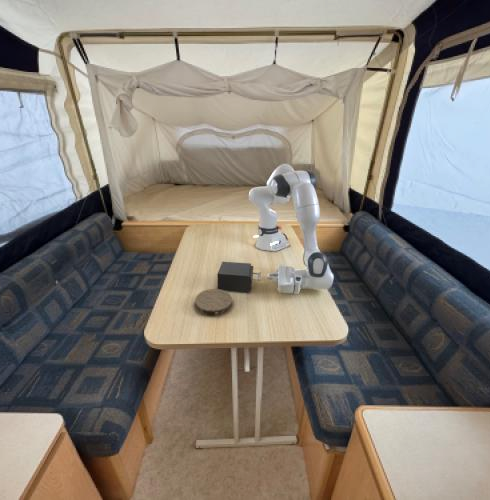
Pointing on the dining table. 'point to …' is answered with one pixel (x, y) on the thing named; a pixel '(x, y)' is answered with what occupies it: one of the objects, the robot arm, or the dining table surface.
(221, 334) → the dining table surface
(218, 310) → the round wood slice
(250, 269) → the drawer
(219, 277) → the cabinet
